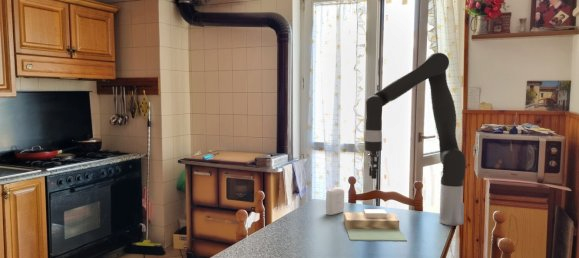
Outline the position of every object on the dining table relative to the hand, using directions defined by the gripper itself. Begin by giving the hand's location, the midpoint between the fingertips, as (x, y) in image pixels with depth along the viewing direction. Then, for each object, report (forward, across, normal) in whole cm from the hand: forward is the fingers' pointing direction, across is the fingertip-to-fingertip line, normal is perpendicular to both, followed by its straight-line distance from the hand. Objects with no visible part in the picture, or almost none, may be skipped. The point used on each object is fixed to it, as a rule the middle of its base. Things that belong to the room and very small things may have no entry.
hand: (372, 177), depth 196 cm
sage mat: (+20, -22, +2) cm, 29 cm away
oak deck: (+20, -9, +2) cm, 22 cm away
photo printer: (+20, +10, +16) cm, 27 cm away
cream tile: (+16, -8, 0) cm, 17 cm away
